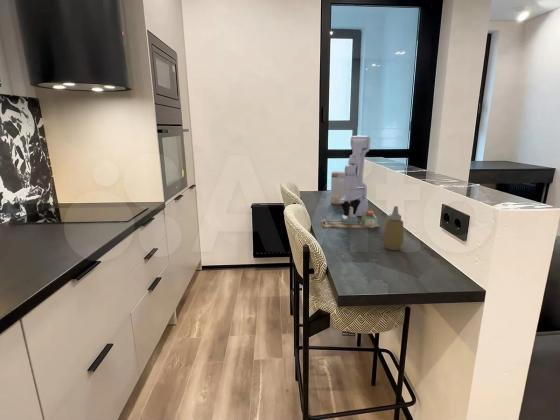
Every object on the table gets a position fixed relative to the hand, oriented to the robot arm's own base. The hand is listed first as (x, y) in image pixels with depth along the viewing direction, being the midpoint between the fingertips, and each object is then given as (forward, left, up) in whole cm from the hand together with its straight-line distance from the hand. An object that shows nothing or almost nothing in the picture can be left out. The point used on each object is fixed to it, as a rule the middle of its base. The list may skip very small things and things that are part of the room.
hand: (349, 214), depth 166 cm
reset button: (-10, 0, -3) cm, 10 cm away
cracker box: (-2, -44, -6) cm, 44 cm away
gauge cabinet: (-10, 0, -5) cm, 11 cm away
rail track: (0, 0, -5) cm, 5 cm away
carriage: (0, 0, -4) cm, 4 cm away
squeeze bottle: (-13, +32, -6) cm, 35 cm away
